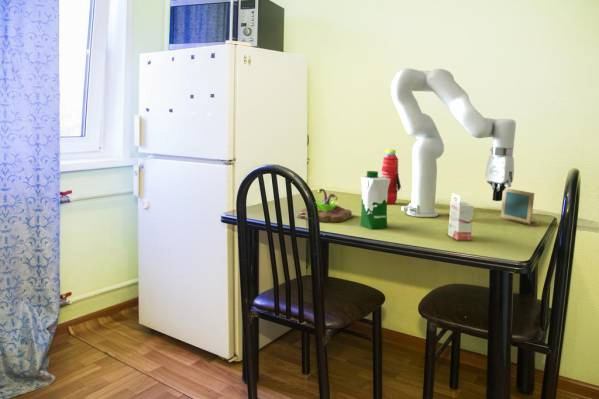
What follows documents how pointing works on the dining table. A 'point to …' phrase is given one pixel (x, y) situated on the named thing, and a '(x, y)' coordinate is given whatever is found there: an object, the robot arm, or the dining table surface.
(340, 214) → the plant
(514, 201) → the photo frame
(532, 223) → the frame foot
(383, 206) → the milk carton
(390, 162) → the water bottle
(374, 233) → the dining table surface
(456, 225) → the ink cartridge box
